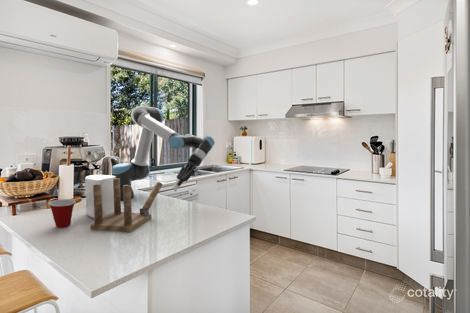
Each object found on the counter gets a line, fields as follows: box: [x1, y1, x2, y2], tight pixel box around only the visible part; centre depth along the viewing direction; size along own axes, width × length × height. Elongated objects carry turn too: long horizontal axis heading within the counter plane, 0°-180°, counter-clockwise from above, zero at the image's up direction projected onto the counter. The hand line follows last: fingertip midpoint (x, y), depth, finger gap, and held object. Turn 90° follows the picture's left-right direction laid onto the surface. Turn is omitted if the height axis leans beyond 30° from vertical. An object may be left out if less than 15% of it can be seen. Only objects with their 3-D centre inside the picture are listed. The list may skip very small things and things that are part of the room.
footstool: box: [89, 178, 152, 233], centre depth 130 cm, size 20×20×21 cm
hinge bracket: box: [139, 207, 150, 216], centre depth 137 cm, size 2×5×3 cm, turn 46°
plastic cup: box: [48, 198, 76, 229], centre depth 127 cm, size 11×11×12 cm
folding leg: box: [141, 181, 163, 211], centre depth 140 cm, size 3×3×16 cm
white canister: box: [84, 174, 116, 220], centre depth 144 cm, size 15×14×22 cm
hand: (173, 189), depth 148 cm, fingers closed
